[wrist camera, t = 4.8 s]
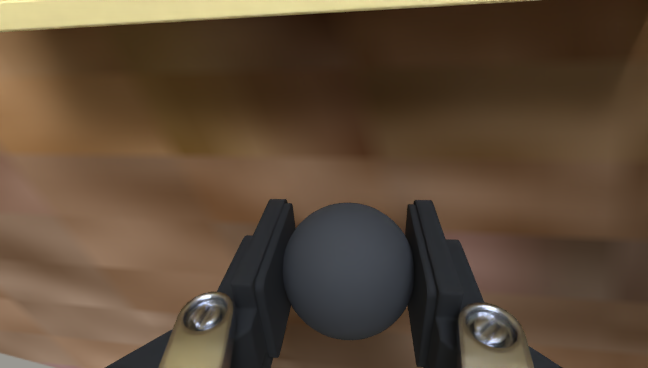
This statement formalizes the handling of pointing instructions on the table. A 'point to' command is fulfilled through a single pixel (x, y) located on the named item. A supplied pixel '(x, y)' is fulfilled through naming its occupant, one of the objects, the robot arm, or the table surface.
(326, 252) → the ball
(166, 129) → the table surface
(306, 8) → the tray
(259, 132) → the table surface
